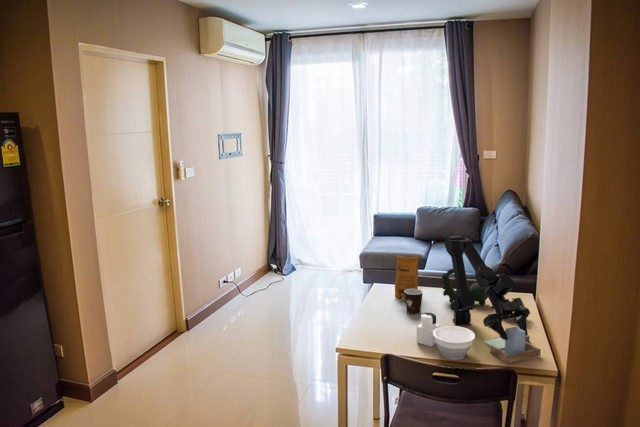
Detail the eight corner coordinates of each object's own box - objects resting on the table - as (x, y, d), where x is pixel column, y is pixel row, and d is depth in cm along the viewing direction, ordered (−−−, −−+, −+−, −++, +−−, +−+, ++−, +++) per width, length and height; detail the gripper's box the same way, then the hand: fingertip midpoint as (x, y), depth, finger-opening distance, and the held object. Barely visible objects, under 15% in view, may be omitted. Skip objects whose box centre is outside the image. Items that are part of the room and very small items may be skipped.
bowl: (426, 357, 190) (426, 337, 188) (440, 342, 203) (441, 322, 201) (467, 367, 181) (467, 346, 179) (480, 350, 194) (480, 330, 192)
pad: (483, 342, 201) (483, 341, 201) (499, 339, 204) (499, 337, 203) (496, 350, 194) (496, 349, 193) (513, 346, 196) (513, 345, 196)
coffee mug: (426, 313, 234) (426, 292, 232) (410, 316, 231) (410, 295, 229) (413, 305, 245) (412, 285, 243) (397, 308, 242) (397, 288, 240)
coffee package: (397, 292, 264) (396, 252, 260) (420, 295, 259) (420, 254, 255) (392, 298, 255) (392, 257, 251) (416, 301, 250) (416, 259, 246)
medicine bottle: (424, 336, 208) (424, 309, 206) (440, 340, 204) (440, 313, 202) (416, 342, 203) (416, 315, 201) (432, 347, 199) (432, 318, 196)
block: (504, 352, 191) (505, 328, 190) (515, 350, 193) (516, 326, 191) (513, 358, 187) (514, 333, 185) (524, 356, 188) (525, 331, 187)
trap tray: (499, 336, 206) (500, 332, 205) (515, 333, 208) (515, 328, 208) (513, 344, 198) (513, 339, 198) (529, 341, 201) (529, 336, 200)
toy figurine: (443, 308, 243) (497, 307, 236) (440, 272, 240) (494, 269, 233) (444, 302, 252) (496, 301, 245) (441, 266, 249) (493, 264, 242)
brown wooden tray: (490, 352, 192) (490, 345, 192) (520, 345, 197) (520, 338, 196) (508, 364, 182) (508, 356, 182) (540, 356, 187) (540, 349, 187)
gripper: (488, 294, 187) (507, 333, 178) (528, 287, 193) (548, 324, 184) (475, 307, 195) (492, 345, 187) (513, 300, 201) (532, 336, 193)
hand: (517, 337), depth 188 cm, fingers open, 9 cm apart
